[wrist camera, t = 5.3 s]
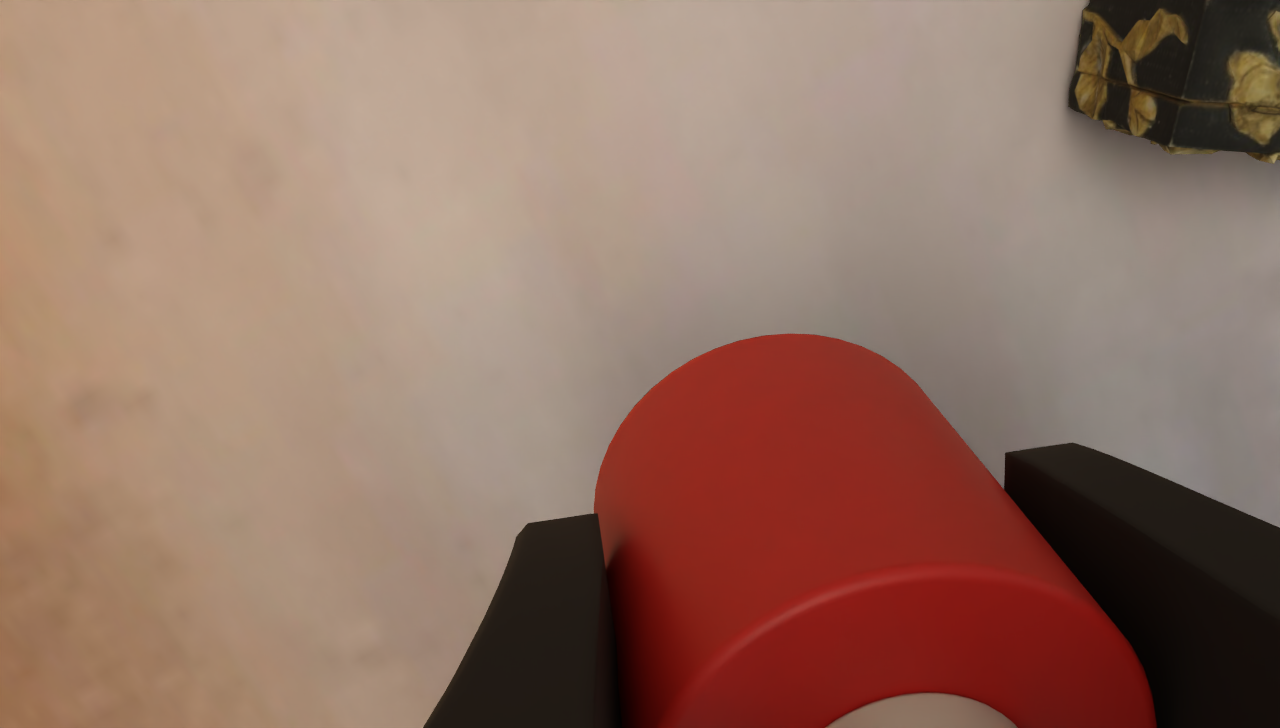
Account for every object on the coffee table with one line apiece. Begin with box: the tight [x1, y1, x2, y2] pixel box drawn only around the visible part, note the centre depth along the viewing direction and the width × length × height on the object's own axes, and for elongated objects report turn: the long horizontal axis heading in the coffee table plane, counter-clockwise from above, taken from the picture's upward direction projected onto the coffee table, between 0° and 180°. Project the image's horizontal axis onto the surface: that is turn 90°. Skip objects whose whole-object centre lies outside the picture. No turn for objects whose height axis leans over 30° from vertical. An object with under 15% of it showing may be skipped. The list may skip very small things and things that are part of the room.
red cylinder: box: [594, 334, 1157, 728], centre depth 9 cm, size 4×4×5 cm
